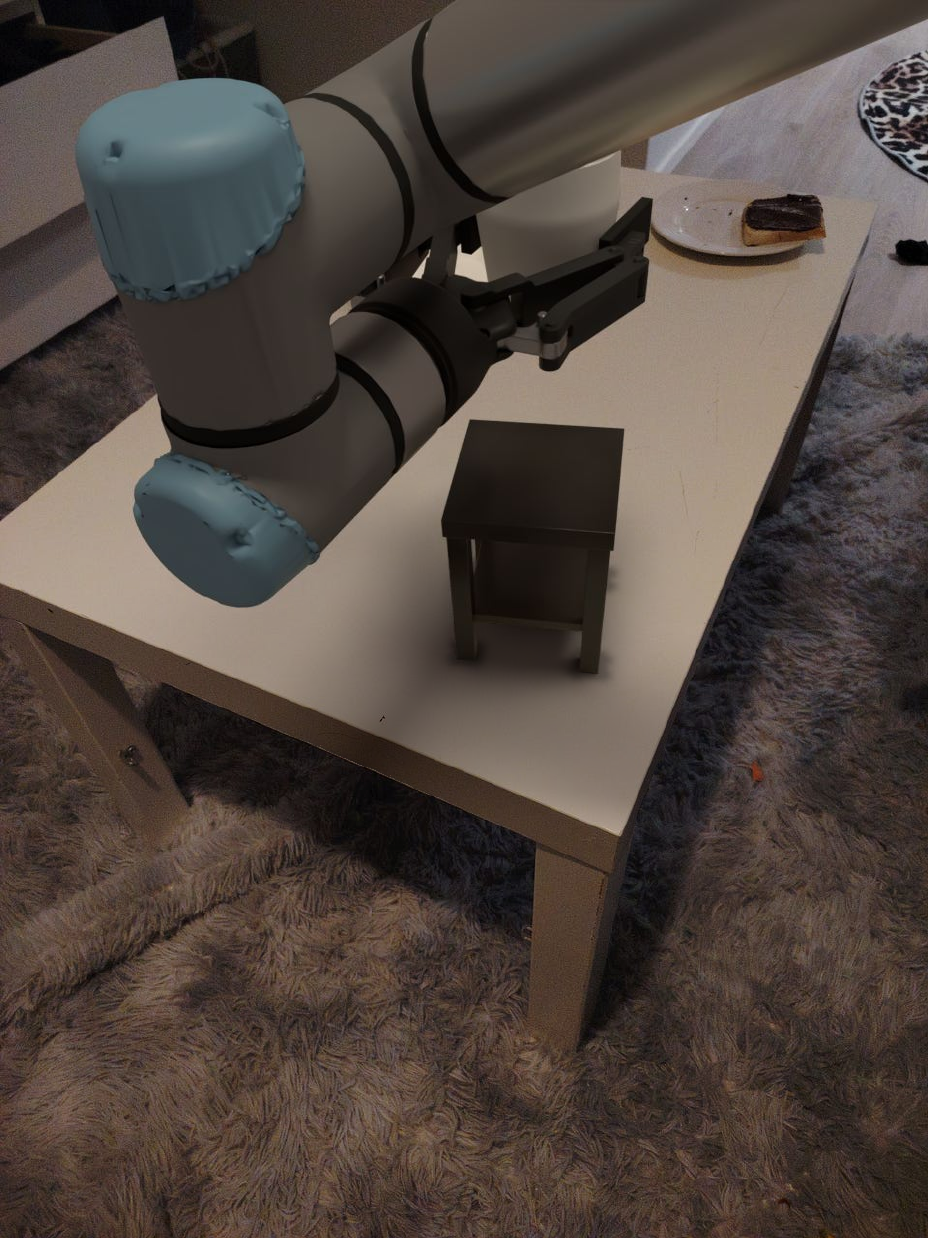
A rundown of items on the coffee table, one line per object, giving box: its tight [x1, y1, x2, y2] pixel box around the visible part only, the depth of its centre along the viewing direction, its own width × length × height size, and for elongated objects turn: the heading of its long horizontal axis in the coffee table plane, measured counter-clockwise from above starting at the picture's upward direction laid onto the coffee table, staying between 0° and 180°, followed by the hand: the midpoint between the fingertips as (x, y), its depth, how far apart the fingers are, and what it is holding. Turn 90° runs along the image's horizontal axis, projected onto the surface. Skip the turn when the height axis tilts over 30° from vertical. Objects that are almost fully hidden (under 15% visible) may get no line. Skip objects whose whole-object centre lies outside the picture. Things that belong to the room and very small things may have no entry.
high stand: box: [440, 418, 625, 674], centre depth 64 cm, size 11×11×14 cm
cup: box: [476, 150, 622, 301], centre depth 57 cm, size 9×9×12 cm
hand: (577, 206), depth 59 cm, fingers closed on cup, 9 cm apart
